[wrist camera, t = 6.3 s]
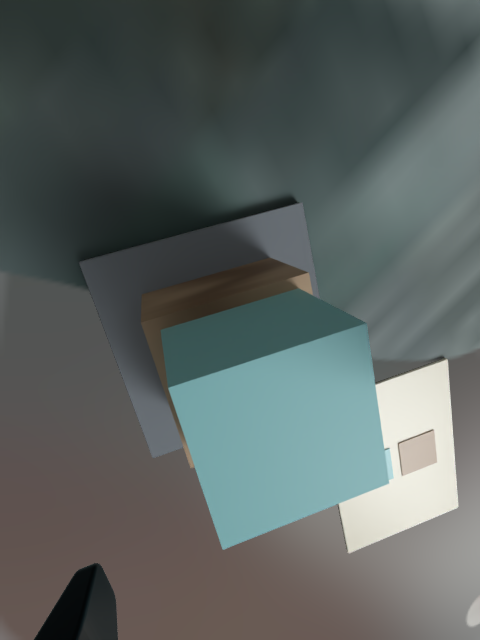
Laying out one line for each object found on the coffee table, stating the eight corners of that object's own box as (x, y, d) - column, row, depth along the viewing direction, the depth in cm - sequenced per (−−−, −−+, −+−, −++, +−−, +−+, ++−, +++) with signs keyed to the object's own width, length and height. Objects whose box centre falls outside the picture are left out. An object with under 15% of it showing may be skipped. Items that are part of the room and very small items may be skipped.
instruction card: (445, 358, 22) (448, 359, 22) (455, 505, 26) (459, 508, 26) (317, 403, 21) (319, 405, 21) (346, 550, 25) (348, 554, 25)
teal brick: (298, 287, 14) (366, 323, 10) (322, 408, 15) (389, 483, 11) (160, 329, 13) (168, 388, 9) (200, 451, 15) (222, 549, 10)
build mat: (298, 202, 18) (302, 202, 18) (332, 389, 21) (336, 393, 21) (80, 261, 17) (78, 262, 16) (152, 452, 20) (152, 458, 19)
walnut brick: (270, 257, 18) (308, 272, 14) (295, 372, 20) (335, 416, 16) (141, 294, 17) (140, 322, 13) (180, 410, 19) (190, 468, 15)
